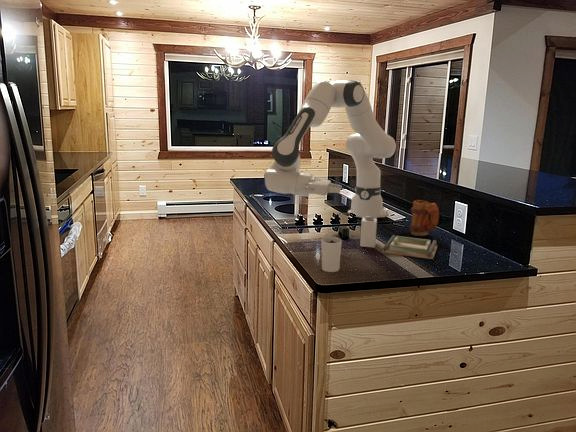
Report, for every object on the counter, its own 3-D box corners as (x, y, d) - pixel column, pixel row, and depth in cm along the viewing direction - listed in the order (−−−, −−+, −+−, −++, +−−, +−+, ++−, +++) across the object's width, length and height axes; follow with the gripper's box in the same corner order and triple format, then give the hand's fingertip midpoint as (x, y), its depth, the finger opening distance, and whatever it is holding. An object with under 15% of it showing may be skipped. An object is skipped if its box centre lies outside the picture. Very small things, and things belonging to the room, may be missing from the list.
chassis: (390, 240, 185) (390, 233, 184) (437, 246, 178) (438, 239, 177) (381, 253, 170) (381, 245, 169) (432, 260, 163) (433, 252, 162)
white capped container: (361, 242, 183) (362, 214, 181) (375, 243, 182) (377, 215, 179) (360, 246, 178) (361, 218, 175) (374, 247, 177) (376, 219, 174)
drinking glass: (318, 266, 157) (318, 237, 154) (336, 264, 158) (337, 236, 156) (324, 273, 151) (324, 243, 148) (343, 271, 152) (344, 242, 150)
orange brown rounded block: (404, 232, 196) (406, 198, 193) (419, 231, 199) (422, 196, 195) (426, 242, 183) (429, 205, 179) (442, 240, 186) (446, 204, 182)
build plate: (358, 241, 186) (358, 230, 185) (341, 243, 183) (342, 232, 182) (344, 233, 197) (344, 223, 196) (328, 234, 195) (329, 224, 193)
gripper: (302, 179, 169) (340, 183, 167) (309, 174, 189) (343, 178, 187) (300, 196, 170) (338, 201, 168) (307, 189, 190) (341, 194, 188)
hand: (341, 189), depth 177 cm, fingers open, 8 cm apart
